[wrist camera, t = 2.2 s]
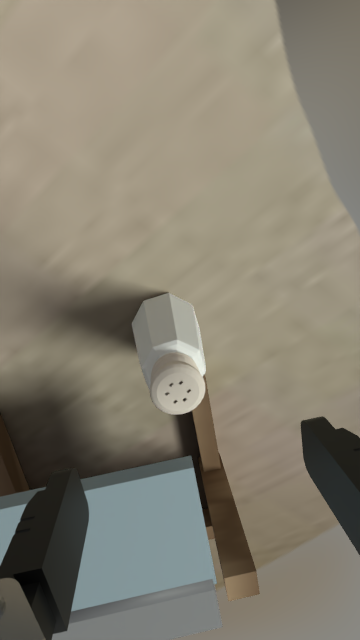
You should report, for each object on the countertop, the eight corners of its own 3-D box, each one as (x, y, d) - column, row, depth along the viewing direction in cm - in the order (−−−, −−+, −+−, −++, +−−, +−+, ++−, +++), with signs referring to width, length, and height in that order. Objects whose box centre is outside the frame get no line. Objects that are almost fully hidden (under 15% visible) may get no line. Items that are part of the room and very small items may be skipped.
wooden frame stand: (36, 559, 33) (-15, 719, 22) (-24, 411, 28) (-127, 527, 17) (229, 515, 34) (268, 651, 23) (204, 364, 29) (237, 448, 18)
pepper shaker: (117, 322, 27) (98, 388, 16) (170, 277, 26) (186, 318, 16) (161, 369, 28) (170, 458, 18) (212, 328, 28) (253, 395, 17)
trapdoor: (43, 576, 28) (13, 680, 22) (-11, 445, 24) (-66, 526, 18) (208, 538, 29) (226, 629, 22) (181, 405, 25) (193, 470, 19)
